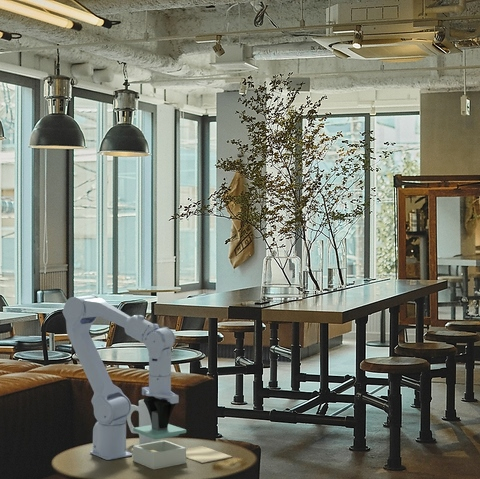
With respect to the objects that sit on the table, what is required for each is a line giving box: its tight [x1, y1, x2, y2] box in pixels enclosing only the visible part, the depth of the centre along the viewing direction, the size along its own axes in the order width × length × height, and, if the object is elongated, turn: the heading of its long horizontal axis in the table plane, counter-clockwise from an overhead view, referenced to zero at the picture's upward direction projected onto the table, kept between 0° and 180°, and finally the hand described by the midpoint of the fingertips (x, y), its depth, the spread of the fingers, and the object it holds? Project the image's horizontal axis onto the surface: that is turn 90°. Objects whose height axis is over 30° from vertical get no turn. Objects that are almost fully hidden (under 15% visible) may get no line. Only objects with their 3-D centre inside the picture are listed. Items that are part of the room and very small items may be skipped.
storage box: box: [132, 439, 187, 470], centre depth 238 cm, size 10×10×4 cm
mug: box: [126, 398, 163, 445], centre depth 258 cm, size 10×7×12 cm, turn 90°
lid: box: [133, 411, 187, 440], centre depth 238 cm, size 10×10×6 cm
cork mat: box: [186, 445, 234, 465], centre depth 246 cm, size 14×10×1 cm
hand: (159, 426), depth 238 cm, fingers closed on lid, 3 cm apart
